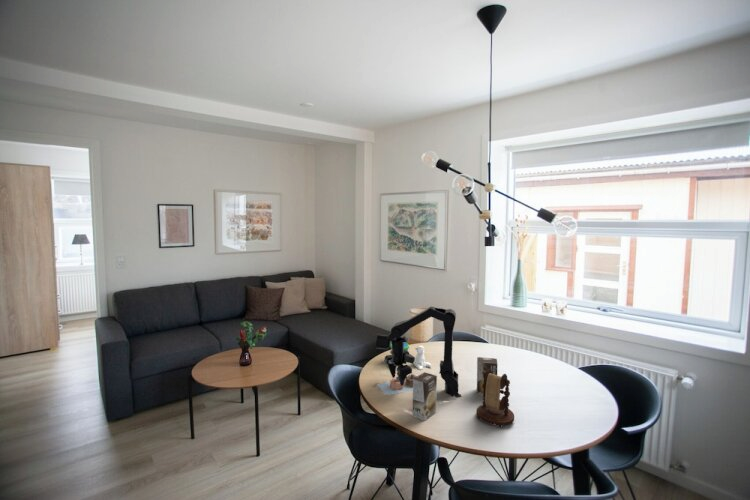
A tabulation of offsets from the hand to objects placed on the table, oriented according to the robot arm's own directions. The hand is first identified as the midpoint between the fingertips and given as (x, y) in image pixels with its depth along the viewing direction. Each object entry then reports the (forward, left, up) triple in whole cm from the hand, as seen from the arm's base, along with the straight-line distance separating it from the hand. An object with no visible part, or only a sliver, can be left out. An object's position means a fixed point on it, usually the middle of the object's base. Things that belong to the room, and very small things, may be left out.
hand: (397, 381), depth 177 cm
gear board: (0, -2, -4) cm, 4 cm away
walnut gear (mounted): (0, -8, -3) cm, 8 cm away
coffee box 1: (-25, 0, -4) cm, 25 cm away
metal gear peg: (0, 0, -3) cm, 3 cm away
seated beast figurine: (+18, -22, -4) cm, 29 cm away
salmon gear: (0, 0, -3) cm, 3 cm away
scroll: (-39, -25, -4) cm, 47 cm away
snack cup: (+29, -15, -4) cm, 33 cm away
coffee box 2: (-20, -36, -4) cm, 42 cm away
